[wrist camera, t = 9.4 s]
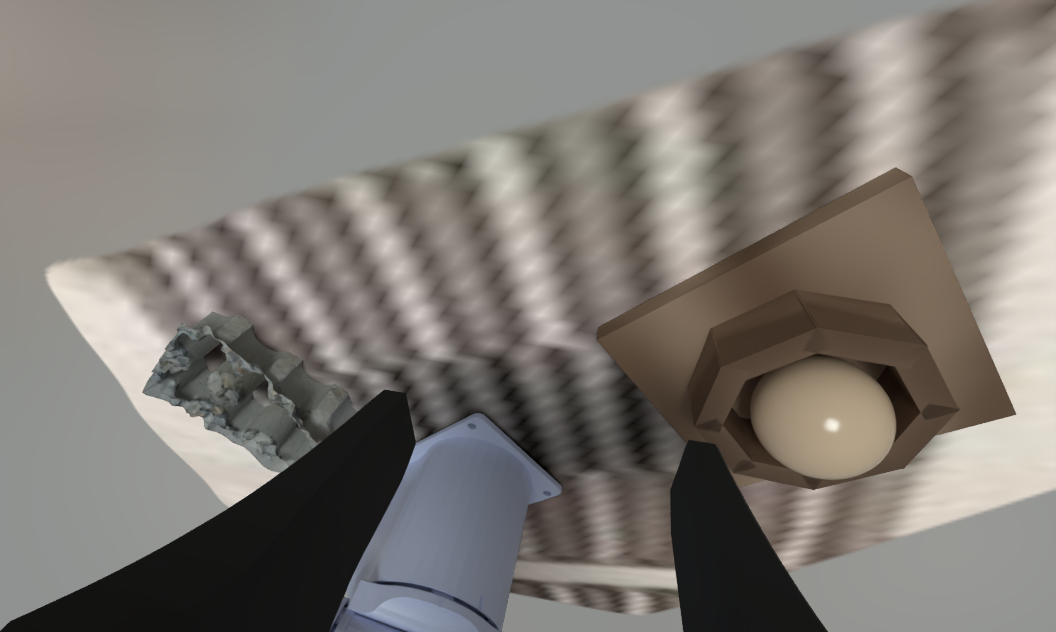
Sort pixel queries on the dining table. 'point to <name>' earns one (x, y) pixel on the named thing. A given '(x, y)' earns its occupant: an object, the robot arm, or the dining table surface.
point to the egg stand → (817, 330)
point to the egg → (823, 418)
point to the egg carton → (248, 391)
